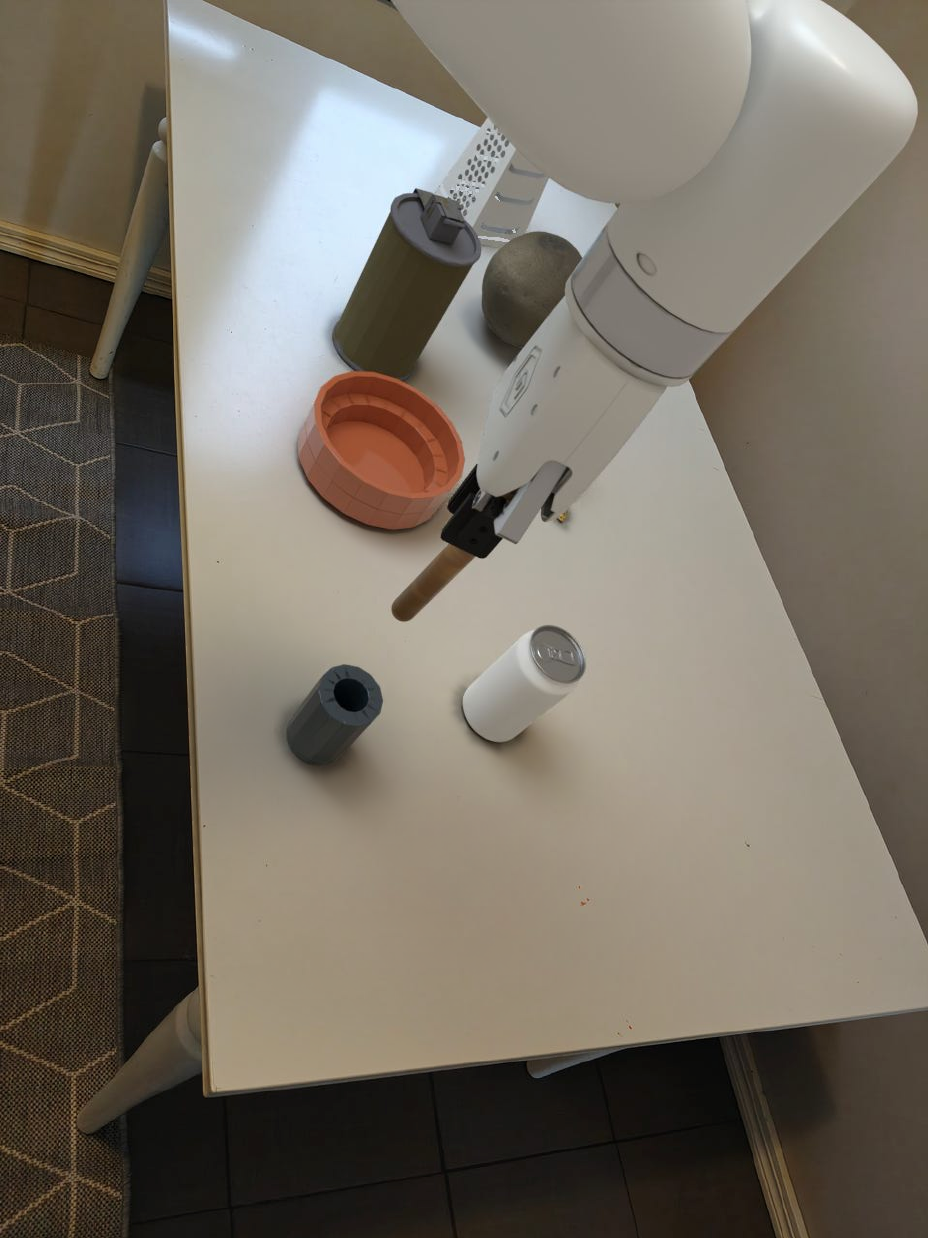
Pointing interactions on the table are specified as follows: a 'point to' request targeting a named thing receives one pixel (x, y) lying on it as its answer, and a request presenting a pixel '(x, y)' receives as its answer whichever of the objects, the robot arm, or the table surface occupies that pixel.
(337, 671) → the utensil pot
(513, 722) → the can
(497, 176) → the grater
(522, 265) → the cantaloupe
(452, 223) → the canister
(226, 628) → the table surface
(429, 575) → the stick
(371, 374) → the bowl
